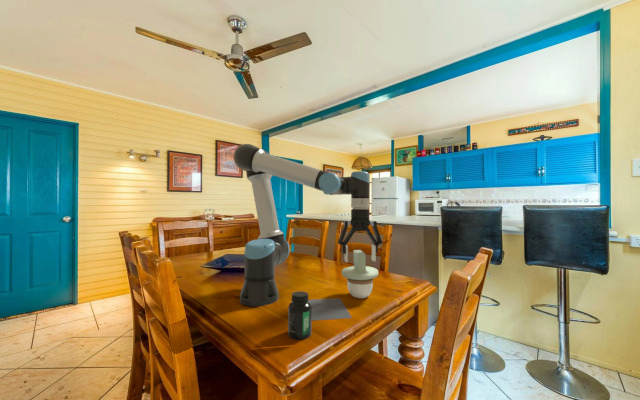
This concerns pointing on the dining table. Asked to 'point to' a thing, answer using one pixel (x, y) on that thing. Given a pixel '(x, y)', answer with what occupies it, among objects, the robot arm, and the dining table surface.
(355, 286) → the lidded jar
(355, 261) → the lid
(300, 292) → the supplement bottle
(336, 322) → the dining table surface
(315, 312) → the mat
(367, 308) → the dining table surface
